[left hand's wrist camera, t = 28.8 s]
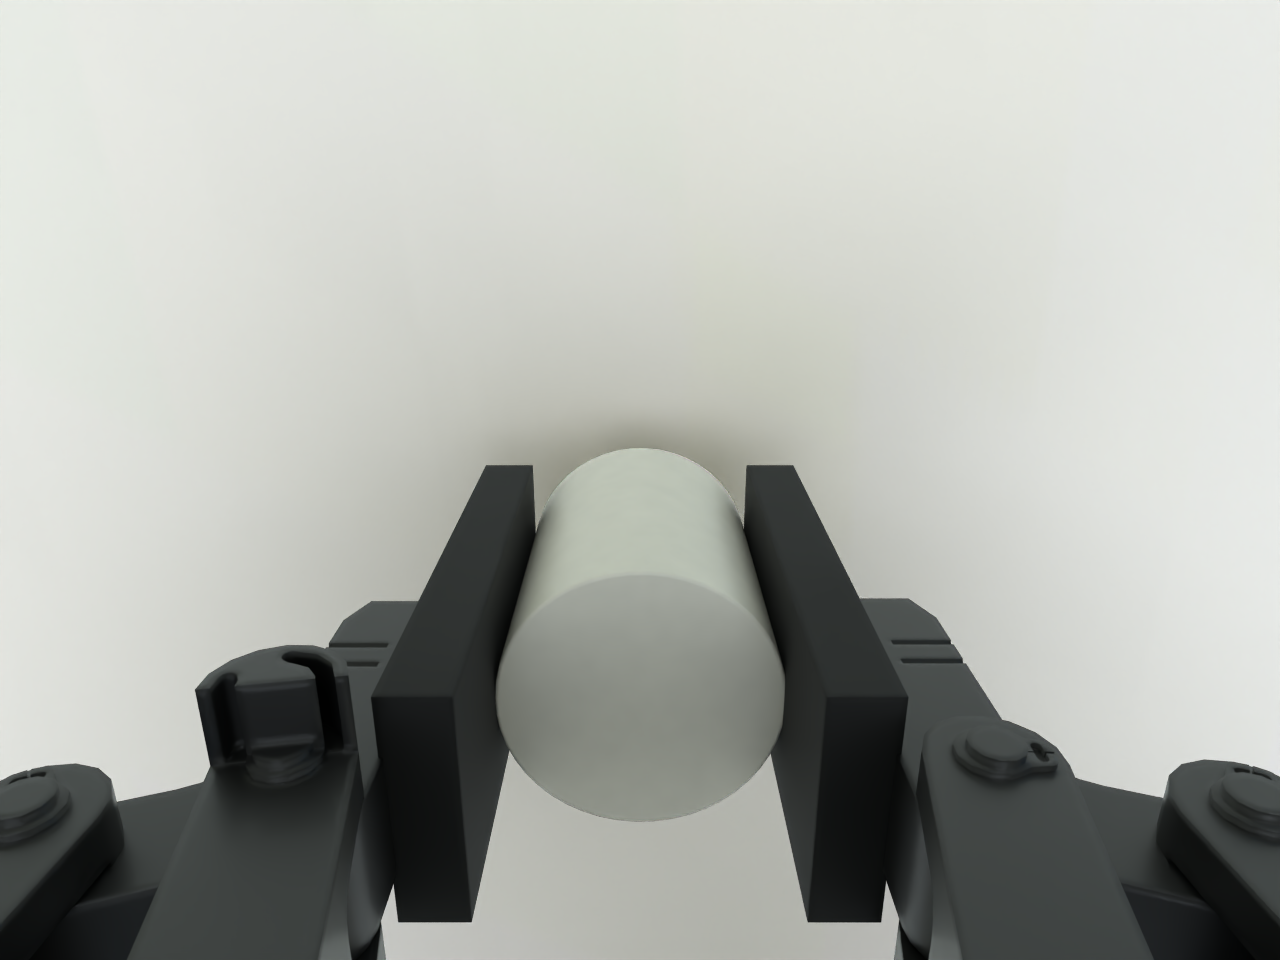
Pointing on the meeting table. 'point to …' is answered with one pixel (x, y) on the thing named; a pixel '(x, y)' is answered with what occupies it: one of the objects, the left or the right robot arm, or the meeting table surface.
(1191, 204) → the meeting table surface
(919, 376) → the meeting table surface
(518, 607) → the canister
